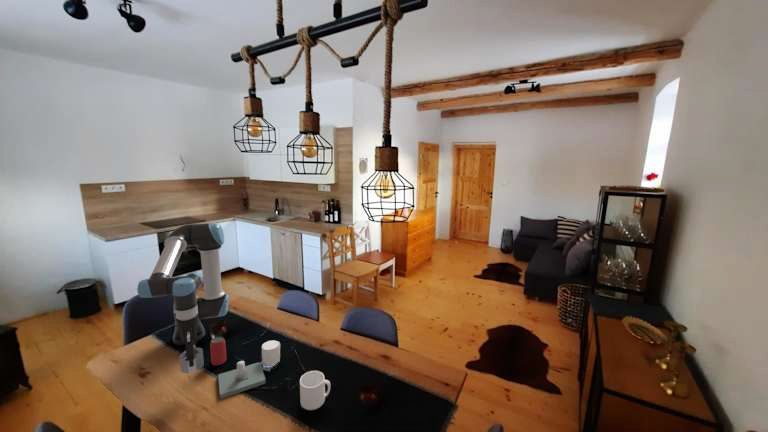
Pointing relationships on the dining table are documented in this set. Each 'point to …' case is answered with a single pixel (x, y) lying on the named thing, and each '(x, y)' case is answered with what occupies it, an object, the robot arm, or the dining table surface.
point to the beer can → (218, 351)
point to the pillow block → (241, 379)
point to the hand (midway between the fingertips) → (192, 365)
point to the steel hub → (198, 359)
